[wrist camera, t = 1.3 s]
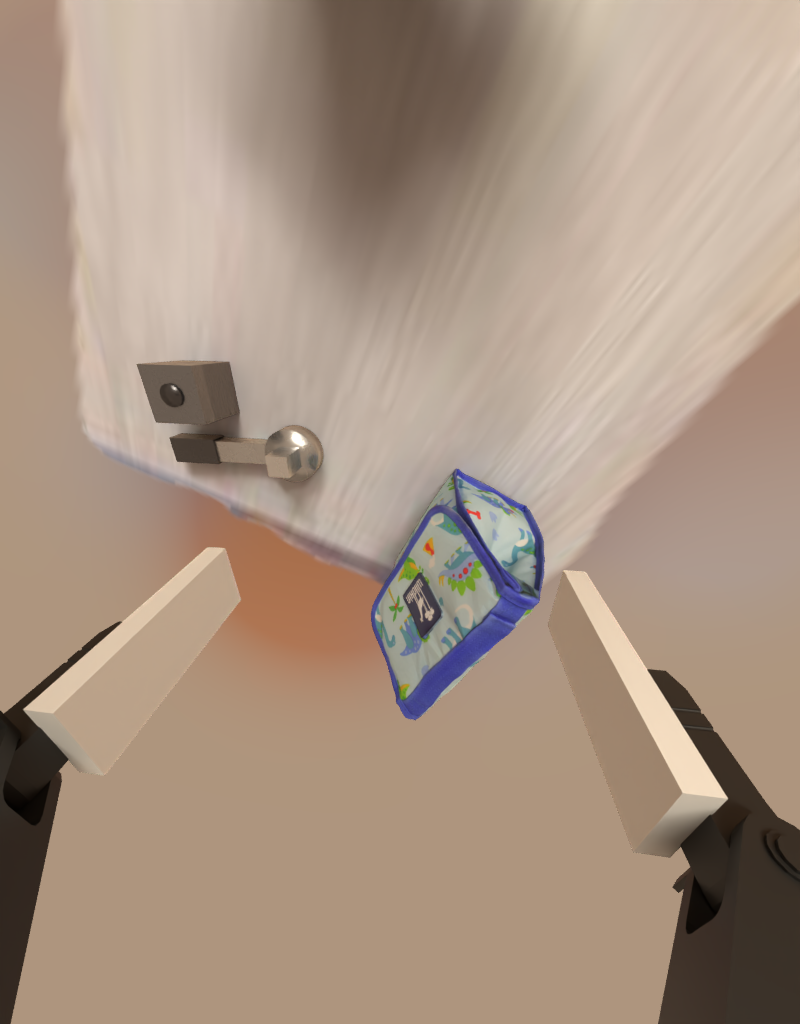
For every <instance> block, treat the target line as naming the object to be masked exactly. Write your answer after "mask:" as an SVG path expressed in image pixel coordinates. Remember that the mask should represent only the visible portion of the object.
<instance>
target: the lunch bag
mask: <svg viewBox="0 0 800 1024" xmlns="http://www.w3.org/2000/svg"><path fill="white" fill-rule="evenodd" d="M544 562H545V557H544V541H543V537H542V534H541V532H540V529H539V527H538V525H537V523H536V521H535V519H534V517H533V515H532V514H531V512H530V510H528V508H527V506H525V505H522V504H519V503H517V502H515V501H514V500H512V499H510V498H508V497H506V496H505V495H503V494H501V493H500V492H498V491H496V490H495V489H494V488H492V487H490V486H488V485H486V484H484V483H482V482H480V481H478V480H476V479H474V478H472V477H470V476H468V475H465V474H464V473H462V472H461V471H460V470H459V469H455V471H454V473H453V474H452V475H451V476H450V477H449V478H448V480H447V481H446V483H445V484H444V485H443V487H442V488H441V489H440V491H439V492H438V494H437V495H436V496H435V498H434V499H433V501H432V502H431V504H430V506H429V507H428V509H427V510H426V512H425V514H424V515H423V517H422V518H421V520H420V522H419V523H418V525H417V527H416V528H415V530H414V531H413V533H412V535H411V536H410V538H409V539H408V541H407V543H406V544H405V546H404V548H403V549H402V551H401V553H400V554H399V556H398V558H397V560H396V562H395V564H394V569H393V571H392V573H391V574H390V576H389V578H388V579H387V581H386V582H385V584H384V586H383V587H382V589H381V591H380V593H379V594H378V596H377V598H376V600H375V602H374V604H373V607H372V611H371V622H372V627H373V631H374V633H375V636H376V639H377V641H378V643H379V645H380V648H381V650H382V653H383V655H384V657H385V659H386V662H387V665H388V669H389V672H390V676H391V680H392V684H393V688H394V691H395V694H396V703H397V704H398V705H399V707H400V709H401V711H402V713H403V715H404V716H405V717H406V718H408V719H414V720H416V719H418V718H419V717H421V716H422V715H423V714H425V713H426V712H427V711H428V710H429V709H430V708H431V707H433V705H434V704H435V703H436V702H437V701H438V700H439V699H440V698H441V697H442V696H444V695H445V694H446V693H448V692H449V691H450V690H451V689H452V688H454V687H455V686H456V685H457V684H458V683H459V682H460V681H461V680H462V679H463V678H464V677H465V676H466V675H467V673H468V672H469V671H470V670H471V669H472V668H473V667H474V665H475V664H477V663H478V662H479V661H481V660H482V659H483V658H484V657H485V656H486V655H487V654H488V652H489V650H490V649H491V648H492V647H493V646H494V645H495V644H497V643H498V642H499V641H500V640H501V639H503V638H504V637H505V636H507V635H508V634H509V633H510V632H511V631H512V630H513V629H514V628H515V627H516V626H517V625H518V624H519V623H520V622H521V621H522V620H523V619H524V618H526V617H527V616H528V615H529V614H530V613H531V612H532V610H533V608H534V606H535V605H537V604H538V603H539V601H540V592H541V588H542V583H543V577H544Z"/></svg>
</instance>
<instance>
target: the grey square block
mask: <svg viewBox="0 0 800 1024" xmlns="http://www.w3.org/2000/svg"><path fill="white" fill-rule="evenodd" d="M137 367H138V370H139V373H140V376H141V379H142V382H143V385H144V388H145V391H146V394H147V397H148V400H149V403H150V406H151V409H152V412H153V415H154V418H155V421H156V422H158V423H179V424H200V425H207V424H210V423H212V422H215V421H218V420H221V419H224V418H226V417H229V416H232V415H235V414H238V413H240V412H239V407H238V402H237V398H236V393H235V388H234V383H233V378H232V373H231V369H230V364H229V362H216V361H170V362H157V363H143V364H137Z"/></svg>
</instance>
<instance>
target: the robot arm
mask: <svg viewBox="0 0 800 1024" xmlns="http://www.w3.org/2000/svg"><path fill="white" fill-rule="evenodd" d="M240 601H241V598H240V595H239V591H238V588H237V585H236V582H235V578H234V575H233V572H232V569H231V565H230V562H229V558H228V555H227V552H226V549H225V548H214V547H207V548H206V549H205V550H204V551H203V552H202V553H201V554H199V555H198V556H197V557H196V558H195V559H194V560H193V561H191V562H190V563H189V564H188V565H187V566H186V567H185V568H183V570H181V571H180V572H179V573H178V574H177V575H176V576H174V577H173V578H172V579H171V580H170V581H169V582H168V583H166V584H165V585H164V586H163V587H162V588H161V589H160V590H158V591H157V592H156V593H155V594H154V595H153V596H152V597H150V599H148V600H147V601H146V602H145V603H144V604H143V605H141V606H140V607H139V608H138V609H137V610H136V611H135V612H133V613H132V614H131V615H130V616H129V617H128V618H127V619H125V620H124V621H123V622H117V623H115V624H114V625H112V626H110V627H109V628H107V629H105V630H104V631H102V632H100V633H99V634H97V635H96V636H95V637H94V638H93V639H91V640H90V641H89V642H88V643H87V644H86V645H84V646H83V647H82V650H81V651H77V652H76V653H75V654H74V655H73V656H72V657H70V658H69V659H68V662H67V663H63V664H62V665H61V666H60V667H59V668H58V669H56V670H55V671H54V672H53V673H52V674H50V675H49V676H48V677H47V678H46V679H45V680H43V681H42V682H41V683H40V684H39V685H38V686H36V687H35V688H34V689H33V690H32V691H30V692H29V693H28V694H27V695H26V696H25V697H23V698H22V699H21V700H20V701H19V702H18V703H16V704H15V705H14V706H13V707H12V708H10V709H9V710H8V711H7V712H5V713H4V714H3V713H2V712H1V711H0V1024H10V1023H11V1019H12V1014H13V1009H14V1005H15V1000H16V995H17V990H18V986H19V981H20V976H21V972H22V966H23V962H24V957H25V953H26V948H27V943H28V938H29V934H30V929H31V924H32V920H33V914H34V910H35V905H36V900H37V895H38V891H39V886H40V882H41V877H42V872H43V868H44V862H45V858H46V853H47V849H48V843H49V839H50V834H51V830H52V825H53V820H54V815H55V811H56V806H57V801H58V797H59V792H60V787H61V782H62V779H61V773H60V772H59V770H60V769H61V768H62V767H63V765H64V764H65V763H66V762H67V761H68V760H69V761H70V762H71V764H72V765H73V766H74V767H75V768H76V769H77V770H78V771H79V772H84V773H91V774H97V775H106V774H107V772H108V771H109V770H110V768H111V767H112V766H113V764H114V763H115V762H116V761H117V759H118V758H119V757H120V755H121V754H122V753H123V752H124V750H125V749H126V748H127V746H128V745H129V743H131V741H132V740H133V739H134V737H135V736H136V735H137V733H138V732H139V731H140V729H141V728H142V727H143V726H144V724H145V723H146V722H147V721H148V719H149V718H150V717H151V715H152V714H153V713H154V712H155V710H156V709H157V708H158V706H159V705H160V704H161V703H162V701H163V700H164V699H165V697H166V696H167V695H168V694H169V692H170V691H171V690H172V688H173V687H174V686H175V684H176V683H177V682H178V681H179V679H180V678H181V677H182V675H183V674H184V672H186V670H187V669H188V668H189V666H190V665H191V664H192V662H193V661H194V660H195V659H196V657H197V656H198V655H199V653H200V652H201V651H202V650H203V648H204V647H205V646H206V644H207V643H208V642H209V641H210V639H211V638H212V637H213V635H214V634H215V633H216V632H217V630H218V629H219V628H220V626H221V625H222V624H223V622H224V621H225V620H226V619H227V617H228V616H229V615H230V613H231V612H232V611H233V610H234V608H235V607H236V606H237V604H238V603H239V602H240ZM548 627H549V630H550V632H551V635H552V638H553V641H554V643H555V646H556V649H557V651H558V654H559V656H560V659H561V662H562V664H563V667H564V669H565V672H566V675H567V678H568V680H569V683H570V686H571V688H572V691H573V693H574V696H575V699H576V701H577V704H578V707H579V710H580V712H581V715H582V717H583V720H584V723H585V726H586V728H587V731H588V733H589V736H590V739H591V741H592V744H593V747H594V750H595V752H596V755H597V757H598V760H599V763H600V765H601V768H602V770H603V773H604V776H605V779H606V781H607V784H608V787H609V789H610V792H611V795H612V797H613V800H614V803H615V805H616V808H617V811H618V813H619V816H620V819H621V821H622V824H623V827H624V829H625V832H626V835H627V837H628V840H629V842H630V845H631V848H632V851H633V852H635V853H641V854H649V855H655V856H662V857H671V856H672V855H673V854H674V853H675V852H676V851H677V850H678V849H679V848H680V847H681V848H682V850H683V852H684V854H685V856H686V858H687V860H688V862H689V864H690V868H689V869H688V870H687V871H686V872H685V873H684V874H682V875H681V876H680V877H679V878H678V879H677V880H676V882H675V884H674V886H673V888H674V889H675V890H676V891H677V892H678V893H679V892H680V891H681V890H682V889H684V891H683V896H682V901H681V907H680V912H679V917H678V923H677V928H676V933H675V939H674V943H673V949H672V954H671V959H670V965H669V970H668V975H667V980H666V985H665V991H664V996H663V1001H662V1006H661V1011H660V1017H659V1022H658V1024H800V830H799V829H797V828H796V827H795V826H793V825H791V824H789V823H788V822H786V821H784V820H782V819H780V818H778V817H777V816H776V815H775V813H774V812H773V811H772V809H771V808H770V807H769V806H768V805H767V803H766V802H765V800H764V799H763V798H762V796H761V795H760V793H759V792H758V791H757V789H756V788H755V786H754V785H753V784H752V782H751V781H750V779H749V778H748V776H747V775H746V774H745V772H744V771H743V769H742V768H741V766H740V765H739V764H738V762H737V761H736V759H735V758H734V756H733V755H732V754H731V752H730V751H729V749H728V748H727V747H726V745H725V744H724V742H723V741H722V739H721V738H720V737H719V735H718V734H717V733H716V732H714V731H713V727H712V725H711V724H710V722H709V721H708V720H707V718H706V717H705V716H704V714H701V710H700V708H699V707H698V706H697V704H696V703H695V701H694V700H693V698H692V697H691V696H690V694H689V693H688V691H687V690H686V689H685V688H684V687H683V686H682V685H681V684H680V683H679V682H677V681H676V680H675V679H674V678H673V677H672V676H671V675H670V674H669V673H667V672H666V671H661V670H650V669H646V667H645V666H644V664H643V662H642V661H641V659H640V658H639V656H638V654H637V653H636V651H635V650H634V648H633V647H632V645H631V644H630V642H629V640H628V639H627V637H626V635H625V634H624V632H623V631H622V629H621V628H620V626H619V624H618V623H617V621H616V619H615V618H614V616H613V615H612V613H611V611H610V610H609V608H608V607H607V605H606V604H605V602H604V601H603V599H602V597H601V596H600V594H599V592H598V591H597V589H596V588H595V586H594V585H593V583H592V581H591V580H590V578H589V576H588V575H587V573H586V572H583V571H566V570H563V574H562V577H561V580H560V584H559V587H558V591H557V594H556V598H555V601H554V605H553V608H552V611H551V615H550V619H549V622H548Z"/></svg>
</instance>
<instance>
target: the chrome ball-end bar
mask: <svg viewBox="0 0 800 1024" xmlns="http://www.w3.org/2000/svg"><path fill="white" fill-rule="evenodd" d="M170 441H171V444H172V447H173V450H174V454H175V457H176V460H177V462H193V463H210V464H220V463H222V462H236V463H253V464H266V465H267V471H268V476H269V477H276V478H282V479H284V480H287V481H291V482H301V481H304V480H306V479H308V478H309V477H311V476H312V475H313V474H314V473H315V471H316V470H317V469H318V468H319V467H320V465H321V464H322V461H323V448H322V445H321V443H320V441H319V439H318V438H317V437H316V435H315V434H314V433H312V432H311V431H310V430H308V429H306V428H304V427H302V426H297V425H291V426H287V427H284V428H283V429H281V430H279V431H277V432H275V433H274V434H272V435H271V436H270V437H269V438H268V439H249V438H229V437H224V436H223V435H207V434H187V433H181V434H178V435H176V436H173V437H170Z"/></svg>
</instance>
